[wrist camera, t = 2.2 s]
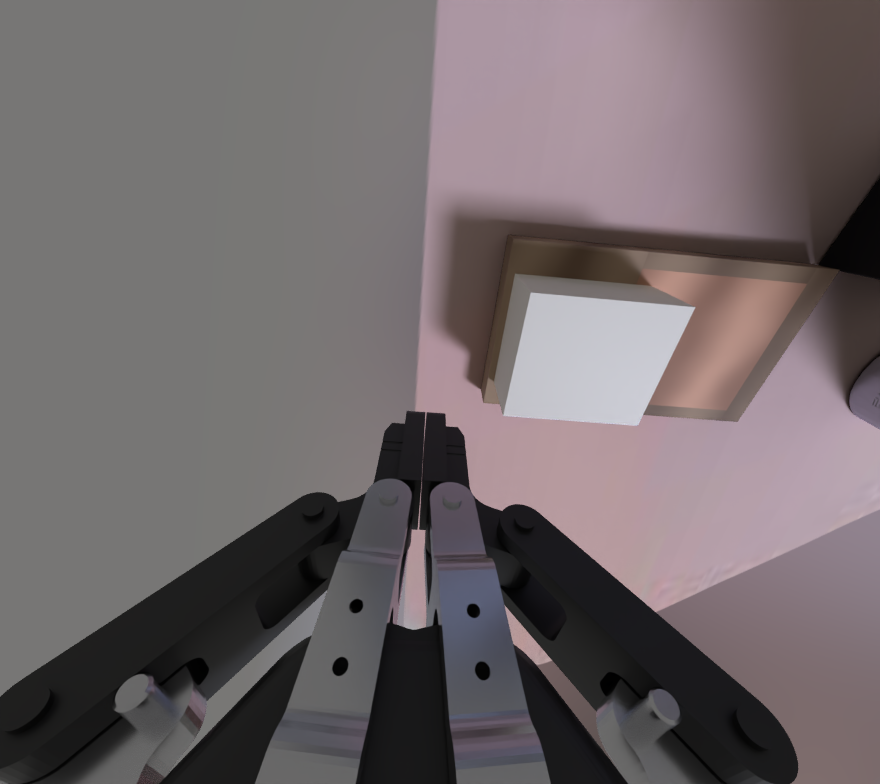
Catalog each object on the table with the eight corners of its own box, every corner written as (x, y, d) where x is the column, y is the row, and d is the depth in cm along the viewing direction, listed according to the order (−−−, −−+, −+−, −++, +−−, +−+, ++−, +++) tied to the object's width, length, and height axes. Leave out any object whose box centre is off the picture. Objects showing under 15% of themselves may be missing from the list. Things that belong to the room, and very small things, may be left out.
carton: (651, 285, 22) (695, 307, 18) (608, 390, 26) (637, 425, 22) (514, 273, 22) (530, 292, 18) (493, 381, 26) (503, 415, 22)
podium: (810, 263, 23) (839, 270, 22) (720, 408, 29) (737, 421, 28) (507, 234, 22) (513, 239, 21) (480, 389, 29) (483, 402, 27)
